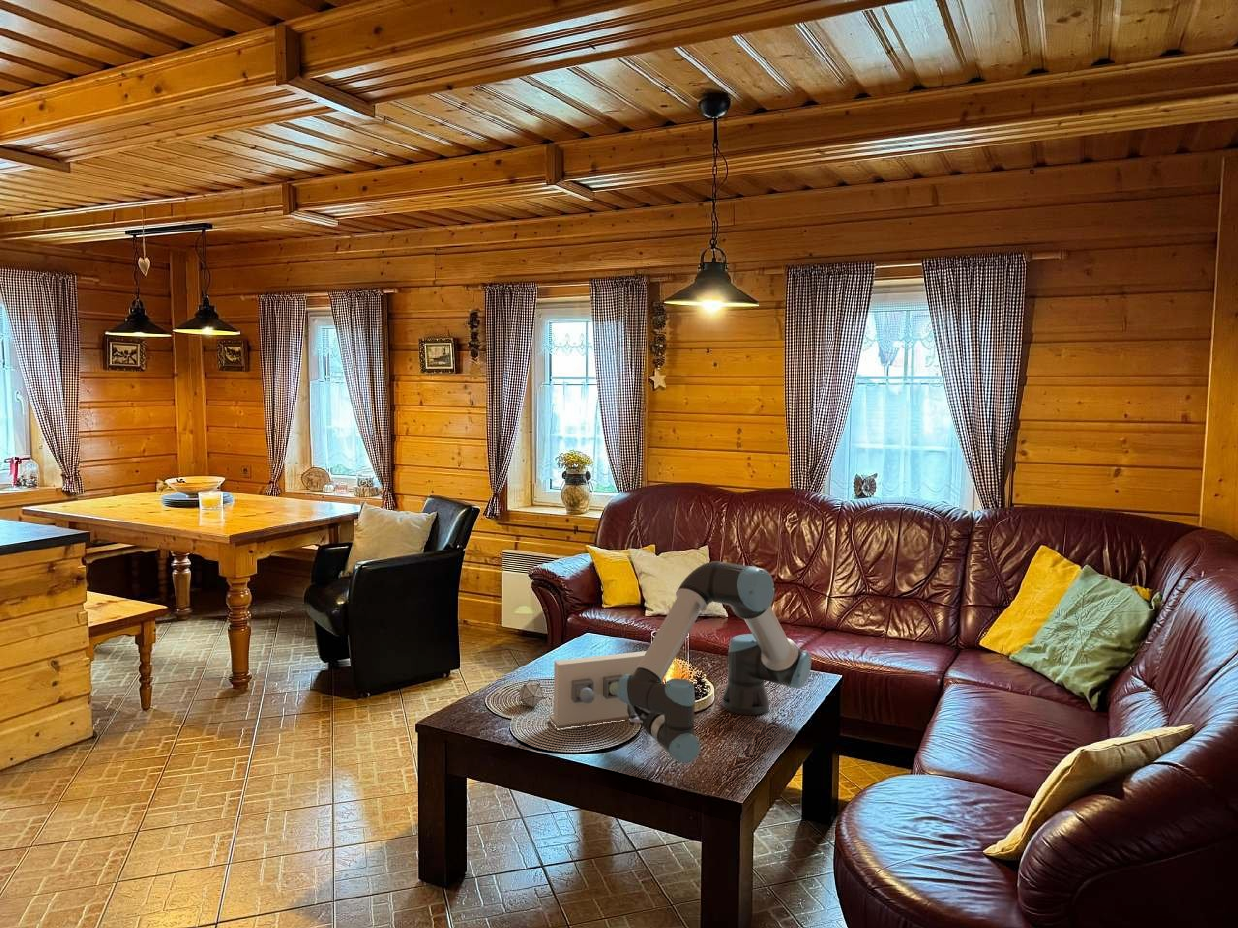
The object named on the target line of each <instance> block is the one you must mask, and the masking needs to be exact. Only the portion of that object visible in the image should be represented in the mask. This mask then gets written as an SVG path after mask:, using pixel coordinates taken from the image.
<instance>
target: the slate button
mask: <svg viewBox="0 0 1238 928" xmlns="http://www.w3.org/2000/svg"><path fill="white" fill-rule="evenodd" d="M579 696H580V699H581V700H582V701H583V702H585V703H590V702H592V701H593V699H594V697H595V694H594V692H593V691H592V690H591V689H590V688H588V687H586V688H583V689H582V690H581V691H580V694H579Z"/></svg>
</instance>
